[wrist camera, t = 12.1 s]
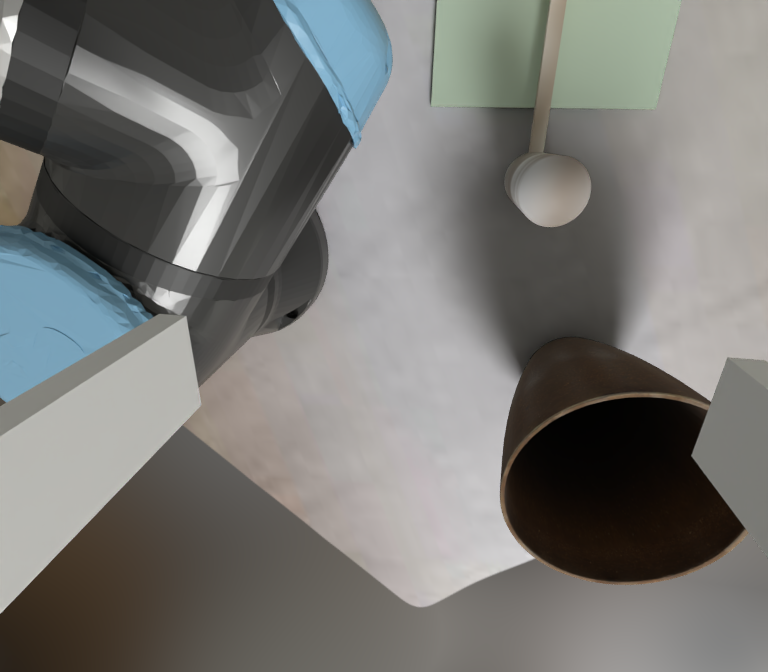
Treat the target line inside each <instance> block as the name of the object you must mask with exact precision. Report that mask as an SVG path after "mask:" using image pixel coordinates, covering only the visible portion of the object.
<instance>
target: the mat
mask: <svg viewBox="0 0 768 672" xmlns="http://www.w3.org/2000/svg"><path fill="white" fill-rule="evenodd" d="M549 1H550V0H437V9H436V27H435V45H434V62H433V80H432V98H431V107H494V108H535V101H536V94H537V86H538V79H539V72H540V65H541V58H542V51H543V43H544V36H545V29H546V22H547V15H548V8H549ZM681 1H682V0H567V2H566V9H565V15H564V22H563V28H562V35H561V41H560V48H559V55H558V61H557V68H556V74H555V81H554V87H553V94H552V100H551V107H550V108H569V109H643V110H654V109H656V106H657V102H658V97H659V93H660V89H661V85H662V81H663V76H664V72H665V68H666V64H667V60H668V55H669V51H670V47H671V43H672V39H673V34H674V30H675V26H676V22H677V18H678V13H679V9H680V5H681Z"/></svg>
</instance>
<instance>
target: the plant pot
mask: <svg viewBox="0 0 768 672" xmlns="http://www.w3.org/2000/svg"><path fill="white" fill-rule="evenodd" d="M710 404H711V402H710V401H709V400H707V399H706V398H705V397H703V396H702V395H700V394H699V393H697V392H696V391H694V390H693V389H691V388H690V387H688V386H687V385H685V384H684V383H682V382H681V381H679V380H678V379H676V378H674V377H673V376H671V375H669V374H667V373H666V372H664V371H662V370H661V369H659V368H657V367H655V366H653V365H652V364H650V363H648V362H646V361H644V360H642V359H640V358H638V357H636V356H634V355H631V354H629V353H627V352H625V351H622V350H620V349H617V348H614V347H612V346H609V345H606V344H603V343H600V342H596V341H593V340H588V339H584V338H577V337H566V338H560V339H556V340H553V341H551V342H549V343H547V344H545V345H544V346H542V347H541V348H540V349H538V350H537V351H536V352H535V353H534V355H533V356H532V357H531V359H530V361H529V362H528V364H527V366H526V368H525V369H524V371H523V374H522V376H521V378H520V380H519V383H518V385H517V388H516V391H515V394H514V397H513V400H512V404H511V407H510V411H509V416H508V420H507V426H506V432H505V438H504V446H503V456H502V469H501V484H500V503H501V509H502V513H503V516H504V519H505V522H506V524H507V526H508V528H509V530H510V532H511V533H512V535H513V536H514V538H515V539H516V540H517V542H518V543H519V544H520V545H521V546H522V547H523V548H524V549H525V550H526V551H527V552H528V553H530V554H531V555H532V556H533V557H535V558H536V559H537V560H539V561H540V562H542V563H543V564H545V565H547V566H549V567H550V568H552V569H554V570H556V571H559V572H561V573H563V574H566V575H569V576H572V577H576V578H579V579H583V580H586V581H591V582H597V583H603V584H615V585H634V584H647V583H654V582H660V581H664V580H669V579H673V578H677V577H680V576H683V575H687V574H689V573H692V572H694V571H697V570H699V569H701V568H703V567H705V566H707V565H709V564H711V563H713V562H715V561H717V560H718V559H720V558H721V557H723V556H724V555H726V554H727V553H728V552H730V551H731V550H732V549H733V548H734V547H736V546H737V545H738V544H739V543H740V542H741V541H742V540H743V539H744V537H745V536H746V535H747V534H748V533H749V532H748V531H747V530H746V528H745V527H744V526H743V524H742V523H741V522H740V520H739V519H738V518H737V516H736V515H735V514H734V512H733V511H732V510H731V508H730V507H729V506H728V504H727V503H726V502H725V500H724V499H723V498H722V496H721V495H720V494H719V492H718V491H717V490H716V488H715V487H714V486H713V484H712V483H711V482H710V480H709V479H708V478H707V476H706V475H705V474H704V472H703V471H702V469H701V468H700V467H699V465H698V464H697V463H696V461H695V460H694V459H693V457H692V456H691V455H692V453H693V450H694V447H695V445H696V442H697V439H698V436H699V434H700V431H701V428H702V426H703V423H704V420H705V417H706V415H707V412H708V409H709V407H710Z"/></svg>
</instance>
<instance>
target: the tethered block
mask: <svg viewBox="0 0 768 672" xmlns="http://www.w3.org/2000/svg"><path fill="white" fill-rule="evenodd" d="M566 2H567V0H550V1H549V8H548V15H547V22H546V29H545V36H544V43H543V51H542V58H541V65H540V72H539V79H538V86H537V94H536V101H535V108H534V115H533V122H532V129H531V136H530V144H529V151H528V153H525V154H523V155H521V156H519V157H517V158H516V159H515V160H514V161H513V162H512V163H511V164H510V166H509V167H508V169H507V171H506V174H505V179H504V187H505V191H506V193H507V195H508V197H509V198H510V199H511V200H512V202H513V203H514V204H515V205H516V206H517V207H518V208H519V209H520V210H521V211H522V212H523V213H524V214H525V216H526V217H527V218H528V219H529V220H531V221H532V222H534V223H535V224H537V225H540V226H544V227H557V226H561V225H564V224H567V223H569V222H570V221H572V220H573V219H575V218H576V217H577V216H578V215H579V214H580V213H581V212H582V211H583V209H584V208H585V207H586V205H587V203H588V200H589V198H590V194H591V179H590V176H589V173H588V171H587V170H586V168H585V167H584V166H583V164H582V163H580V162H579V161H578V160H576V159H574V158H572V157H569V156H564V155H556V154H549V153H544V146H545V140H546V133H547V127H548V120H549V114H550V107H551V100H552V94H553V87H554V81H555V74H556V68H557V61H558V55H559V48H560V41H561V35H562V28H563V22H564V15H565V9H566Z"/></svg>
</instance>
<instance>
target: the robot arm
mask: <svg viewBox="0 0 768 672" xmlns="http://www.w3.org/2000/svg"><path fill="white" fill-rule="evenodd" d="M392 62H393V59H392V47H391V42H390V39H389V36H388V33H387V31H386V28H385V25H384V23H383V21H382V19H381V17H380V16H379V14H378V12H377V10H376V8H375V7H374V5H373V4H372V2H371V0H0V140H3V141H5V142H8V143H11V144H13V145H16V146H19V147H21V148H24V149H27V150H29V151H32V152H34V153H37V154H40V155H42V156H44V159H43V163H42V166H41V170H40V173H39V176H38V180H37V183H36V186H35V189H34V192H33V196H32V199H31V202H30V206H29V209H28V212H27V215H26V217H25V218H24V219H23V221H22V222H21V223H20V224H18V225H17V226H4V225H0V398H2V399H3V400H4V401H5V402H6V403H5V404H4V405H2V406H0V613H1V612H2V611H3V610H4V609H5V608H6V607H7V606H8V605H9V604H10V603H11V602H12V601H13V600H14V599H15V598H16V597H17V596H18V595H19V594H20V592H22V590H24V589H25V587H26V586H27V585H28V584H29V583H30V582H31V581H32V580H33V579H34V578H35V577H36V576H37V575H38V574H39V573H40V572H41V571H42V570H43V569H44V568H45V567H46V566H47V565H48V564H49V562H51V560H52V559H53V558H54V557H55V556H56V555H57V554H58V553H59V552H60V551H61V550H62V549H63V548H64V547H65V546H66V545H67V544H68V543H69V542H70V541H71V540H72V538H74V537H75V536H76V534H77V533H79V531H80V530H81V529H82V528H83V527H84V526H85V525H86V524H87V523H88V522H89V521H90V520H91V519H92V518H93V517H94V516H95V515H96V514H97V513H98V512H99V511H100V510H101V509H102V508H103V507H104V506H105V504H107V502H108V501H109V500H110V499H111V498H112V497H113V496H114V495H115V494H116V493H117V492H118V491H119V490H120V489H121V488H122V487H123V486H124V485H125V484H126V483H127V482H128V481H129V480H130V479H131V477H132V476H133V475H134V474H135V473H136V472H137V471H138V470H139V469H140V468H141V467H142V466H143V465H144V464H145V463H146V462H147V461H148V460H149V459H150V458H151V457H152V456H153V455H154V454H155V453H156V452H157V451H158V450H159V449H160V447H161V446H162V445H163V444H164V443H165V442H166V441H167V440H168V439H169V438H170V437H171V436H172V435H173V434H174V433H175V432H176V431H177V430H178V429H179V428H180V427H181V426H182V425H183V424H184V423H185V422H186V421H187V420H188V419H189V417H190V416H191V415H192V414H193V413H194V412H195V411H196V410H197V409H198V408H199V407H200V406H201V400H200V394H199V387H200V386H201V385H202V384H203V383H204V382H205V381H206V380H207V379H208V378H209V377H210V376H211V375H212V374H213V373H215V372H216V371H217V370H218V369H219V368H220V367H221V366H222V365H223V364H224V363H225V362H226V361H227V360H228V359H229V358H230V357H231V356H232V355H233V354H234V353H235V352H236V351H237V350H238V349H239V348H240V347H241V346H243V345H244V344H245V343H246V342H247V341H248V340H249V339H250V338H251V337H254V336H259V335H263V334H268V333H272V332H275V331H278V330H281V329H283V328H285V327H287V326H289V325H290V324H292V323H293V322H295V321H296V320H297V319H299V318H300V317H301V316H302V315H303V314H304V313H305V312H306V311H307V310H308V308H309V307H310V306H311V305H312V304H313V303H314V301H315V300H316V299H317V297H318V295H319V294H320V292H321V290H322V287H323V285H324V282H325V279H326V275H327V269H328V246H327V240H326V236H325V232H324V229H323V226H322V224H321V221H320V219H319V217H318V215H317V213H316V211H315V208H316V206H317V205H318V203H319V201H320V200H321V198H322V196H323V195H324V193H325V192H326V190H327V188H328V187H329V185H330V183H331V182H332V180H333V178H334V177H335V175H336V173H337V172H338V170H339V169H340V167H341V165H342V164H343V162H344V160H345V159H346V157H347V155H348V154H349V152H350V150H351V149H352V147H354V148H357V146H358V145H359V143H360V141H361V131H362V129H363V127H364V125H365V123H366V121H367V120H368V118H369V116H370V114H371V112H372V110H373V109H374V107H375V105H376V103H377V101H378V100H379V98H380V96H381V94H382V92H383V90H384V89H385V87H386V85H387V83H388V80H389V77H390V74H391V70H392ZM691 456H692V457H693V459H694V460H695V461H696V463H697V464H698V465H699V467H700V468H701V469H702V471H703V472H704V474H705V475H706V476H707V478H708V479H709V480H710V482H711V483H712V484H713V486H714V487H715V488H716V490H717V491H718V492H719V494H720V495H721V496H722V498H723V499H724V500H725V502H726V503H727V504H728V506H729V507H730V508H731V510H732V511H733V512H734V514H735V515H736V516H737V518H738V519H739V520H740V522H741V523H742V524H743V526H744V527H745V528H746V530H747V531H748V532H749V534H750V535H751V536H752V538H753V539H754V540H755V542H756V543H757V545H758V546H759V547H760V549H761V550H762V551H763V553H764V554H765V555H766V556H767V558H768V362H766V361H765V360H753V359H740V358H727V361H726V363H725V366H724V369H723V371H722V374H721V377H720V380H719V382H718V385H717V388H716V390H715V393H714V396H713V399H712V401H711V404H710V407H709V409H708V412H707V415H706V417H705V420H704V423H703V426H702V428H701V431H700V434H699V436H698V439H697V442H696V445H695V447H694V450H693V453H692V455H691Z"/></svg>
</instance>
